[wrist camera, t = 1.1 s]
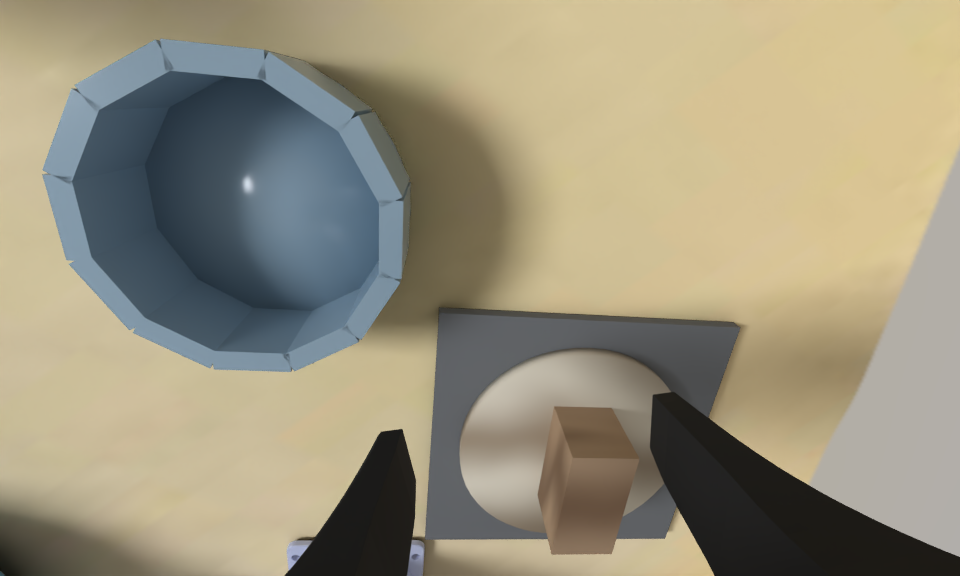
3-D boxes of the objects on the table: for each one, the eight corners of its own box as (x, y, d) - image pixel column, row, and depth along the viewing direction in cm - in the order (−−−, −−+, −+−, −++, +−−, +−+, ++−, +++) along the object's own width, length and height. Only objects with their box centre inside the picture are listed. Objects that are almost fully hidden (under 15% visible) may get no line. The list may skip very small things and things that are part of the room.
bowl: (407, 322, 22) (398, 375, 18) (165, 311, 21) (95, 365, 16) (415, 72, 17) (407, 65, 13) (111, 40, 16) (-1, 21, 12)
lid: (647, 521, 27) (682, 592, 23) (452, 521, 26) (453, 597, 22) (703, 351, 23) (757, 405, 19) (468, 342, 21) (474, 397, 18)
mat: (660, 529, 29) (664, 538, 28) (425, 530, 27) (425, 539, 26) (733, 322, 23) (740, 327, 22) (439, 307, 21) (439, 312, 21)
